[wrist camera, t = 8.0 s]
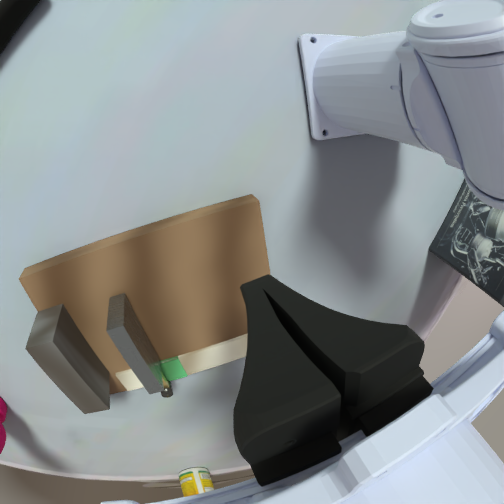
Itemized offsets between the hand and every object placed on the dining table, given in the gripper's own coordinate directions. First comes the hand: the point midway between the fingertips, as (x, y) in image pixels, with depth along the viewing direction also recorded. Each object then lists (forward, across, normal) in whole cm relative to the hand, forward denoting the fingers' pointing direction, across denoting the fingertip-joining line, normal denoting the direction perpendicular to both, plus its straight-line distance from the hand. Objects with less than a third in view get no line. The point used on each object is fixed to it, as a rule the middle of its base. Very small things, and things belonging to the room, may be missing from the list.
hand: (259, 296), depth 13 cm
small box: (+10, -29, +9) cm, 32 cm away
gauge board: (+9, +6, +6) cm, 13 cm away
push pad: (+8, +9, +7) cm, 13 cm away
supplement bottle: (+10, +18, +41) cm, 46 cm away
